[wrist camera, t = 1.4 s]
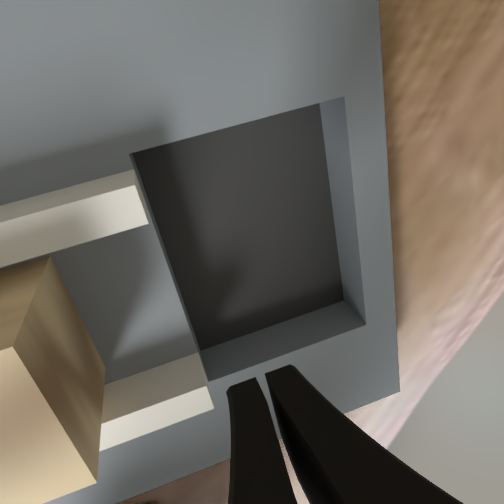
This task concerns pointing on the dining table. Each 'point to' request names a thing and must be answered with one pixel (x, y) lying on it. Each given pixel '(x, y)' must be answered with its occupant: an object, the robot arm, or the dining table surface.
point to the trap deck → (202, 207)
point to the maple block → (46, 388)
